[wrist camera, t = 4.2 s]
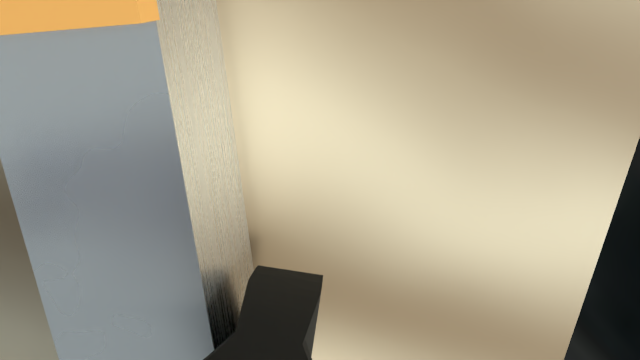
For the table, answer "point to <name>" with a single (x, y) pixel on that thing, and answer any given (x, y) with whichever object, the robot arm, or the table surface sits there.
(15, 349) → the wooden cutting board
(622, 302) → the table surface
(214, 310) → the clear plastic container
